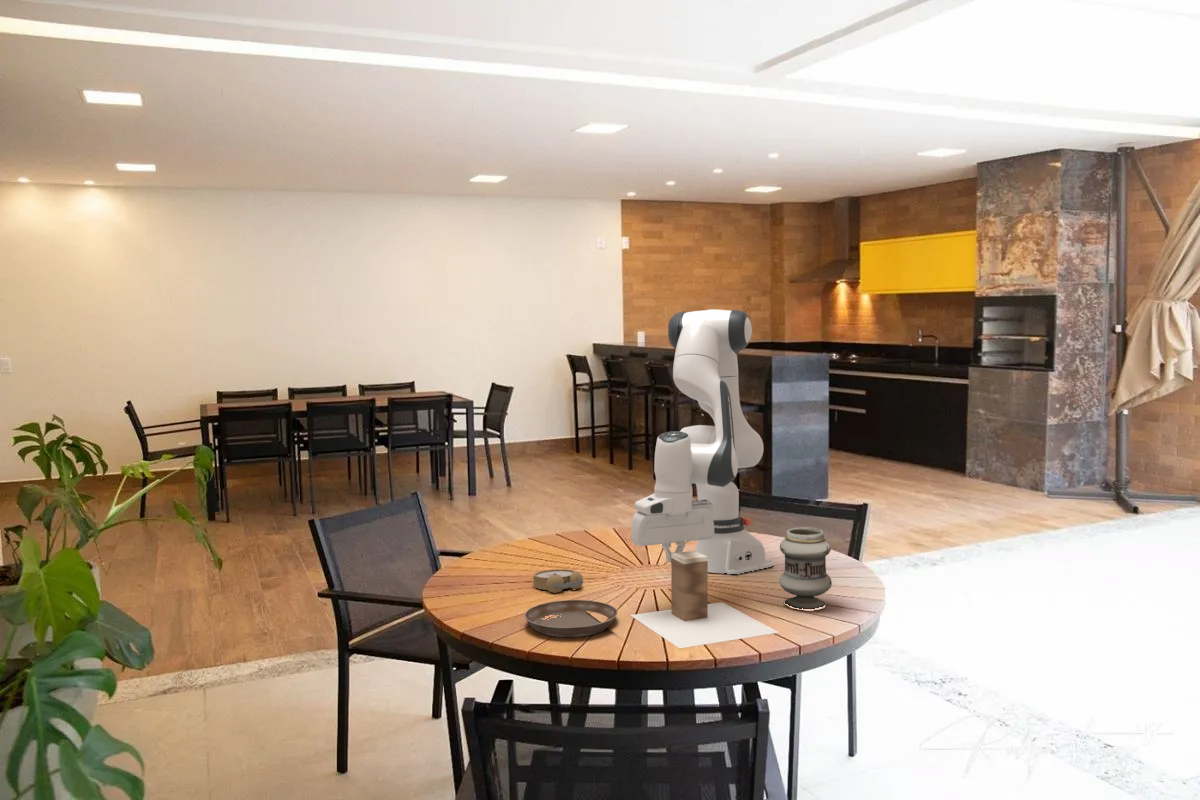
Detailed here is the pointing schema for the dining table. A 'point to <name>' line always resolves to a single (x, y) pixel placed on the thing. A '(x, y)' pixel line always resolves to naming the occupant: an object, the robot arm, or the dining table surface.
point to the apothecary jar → (805, 567)
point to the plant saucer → (570, 618)
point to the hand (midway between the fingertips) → (673, 560)
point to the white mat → (704, 626)
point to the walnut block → (689, 585)
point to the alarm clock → (557, 580)
